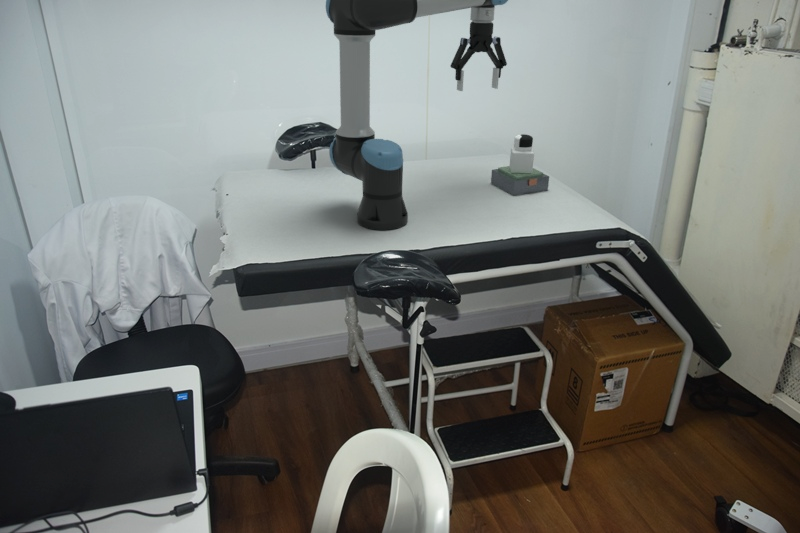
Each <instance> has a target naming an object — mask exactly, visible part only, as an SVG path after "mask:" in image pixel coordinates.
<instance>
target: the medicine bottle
mask: <svg viewBox="0 0 800 533" xmlns="http://www.w3.org/2000/svg"><path fill="white" fill-rule="evenodd" d="M533 140H534V138H533V136H531V135H529V134H526V133H525V134H524V133H523V134H517V135H515V136H514V142H513V143H514V144H513V146H511V148H510V156H509V166H510V170H511V173H532V169H533V168H534V167H533V166H534V160H535V158H534V157H535V153H534V150H533Z"/></svg>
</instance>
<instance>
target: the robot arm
mask: <svg viewBox="0 0 800 533" xmlns="http://www.w3.org/2000/svg"><path fill="white" fill-rule="evenodd" d="M507 2H509V0H326V1H325V12H326V15H327V18H328V19H329V20H330V23H332V24H333V35H334V36H335V37H336V39H337V40H338V41H339V42H338V44H339V89H340V91H339V95H340V100H339V101H340V104H339V105H340V126H339V128H337V129H336V131H335V137H334V138H333V141H332V142H331V143H330V145H329V151H328V152H329V159H330V163H331V164H332V165H333V167H334V168H336V169H337V170H338V171H340V172H341V173H342V174H344V175H346V176H350V177H351V178H355V179H356V180H359V181H361V182H362V198H361V201H360V204H359V207H358V210H357V214H356V219H357V221H356V222H357V224H358V225H359V226H361V227H363V228H365V229H366V228H367V229H370V230H377V231H389V230H395V229H399V228H401V227H404V226H405V225H406V224H407V223H408V222H409V214H408V210H407V207H406V204H405V201H404V198H403V179H404V178H403V174H404V157H403V149H402V147H401V146H400V144H398V143H397V142H395V141H392V140H389V139H384V138H375V137H376V136H375V135H376V134H375V132H376V131H375V130H374V129H373V128H372V127H371V126H370V125H371V123H370V121H371V120H370V119H371V115H370V111H371V110H370V109H371V108H370V106H371V104H370V103H371V101H370V100H371V96H370V95H371V94H370V93H371V92H370V91H371V87H370V86H371V80H370V77H371V67H370V66H371V65H370V64H371V55H370V54H371V42H372V40H373V39H374V38H375V36H376V31H379V30H383V29H388V28H393V27H398V26H401V25H406V24H410V23H411V24H412V23H413V22H414V21H415V20H416V19H417V18H421V17H423V18H424V17H427V16H433V15H438V14H443V13H450V12H454V11H460V10H467V9H470V21H471V22H470V23H469V38H466V37H461V38H460V42H459V46H458V48H457V50H456V52H455V55H454V57H453V59H452V62H451V64H450V68H452V69H454V70H455V75H454V79H455V81H456V90H457V91H459V92H463V91H464V74H465V70H463V68H464V67H465V66H466V65H467V63H468V61H470V59H471V57H472V56H473V55H474V54H476V53H486V54H487V56H488V57H489V59H490V60H491V62H492V64H493V65H494V67H492V78H491V88H493V89H495V90H497V89H498V88H499V80H500V78H501V75H502V69H504V67H506V66H507V65H508V63H507V59H506V57H505V54H504V50H503V47H502V43H501V41H502V40H501V37H500V36H493V34H494V22H493V21H494V20H495V9H496V8H495V7H496V6H503V5H505V4H507ZM492 44H493V47H494V49H493V48H492V46H491V45H492ZM468 45H469V47H467V46H468ZM494 50H495V52H494ZM465 51H466V52H465ZM495 53H496V54H495Z"/></svg>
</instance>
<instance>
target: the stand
mask: <svg viewBox="0 0 800 533" xmlns="http://www.w3.org/2000/svg"><path fill="white" fill-rule="evenodd" d="M490 177H491V178H490V179H491V180H490V184H491V185H493V186H495V187H497V188H499V189H501V190H502V191H503V192H505V193H508V194H509V195H511V196H516V197H517V196H521V195H528V194H534V193H539V192H546V191H548V190H549V183H550V182H549V181H550V175H547V174H545V173H544V172H542V171H540V170H538V169H537V168H534V167H533V169H532V173H511V170H510V165H508V166H501V167H497V168H495V169H491V175H490Z"/></svg>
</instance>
